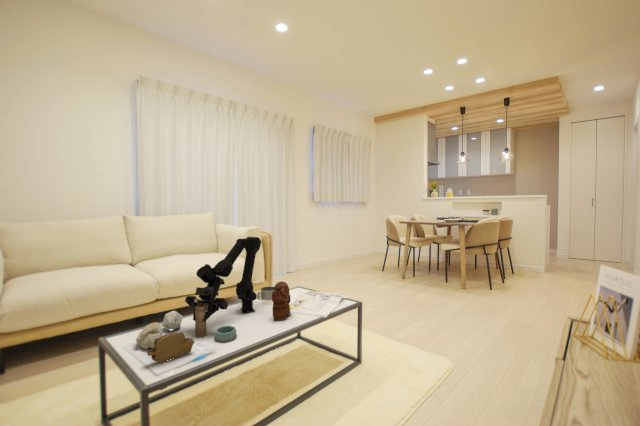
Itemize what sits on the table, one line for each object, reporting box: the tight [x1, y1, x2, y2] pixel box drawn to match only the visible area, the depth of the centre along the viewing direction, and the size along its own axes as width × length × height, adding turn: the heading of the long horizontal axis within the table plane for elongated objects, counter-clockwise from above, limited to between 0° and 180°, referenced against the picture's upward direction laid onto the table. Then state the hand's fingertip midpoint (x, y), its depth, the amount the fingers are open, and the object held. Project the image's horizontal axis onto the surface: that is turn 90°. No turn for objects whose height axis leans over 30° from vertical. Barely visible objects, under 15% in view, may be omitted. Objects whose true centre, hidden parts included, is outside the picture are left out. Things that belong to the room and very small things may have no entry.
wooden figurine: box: [271, 281, 291, 322], centre depth 161 cm, size 12×6×18 cm, turn 161°
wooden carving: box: [146, 331, 195, 363], centre depth 120 cm, size 16×5×10 cm, turn 136°
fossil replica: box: [136, 321, 163, 350], centre depth 131 cm, size 12×8×10 cm
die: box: [160, 310, 184, 330], centre depth 147 cm, size 8×9×10 cm
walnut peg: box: [194, 302, 207, 339], centre depth 140 cm, size 4×4×15 cm
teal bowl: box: [214, 325, 238, 344], centre depth 137 cm, size 9×9×4 cm
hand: (198, 320), depth 138 cm, fingers closed on walnut peg, 4 cm apart
